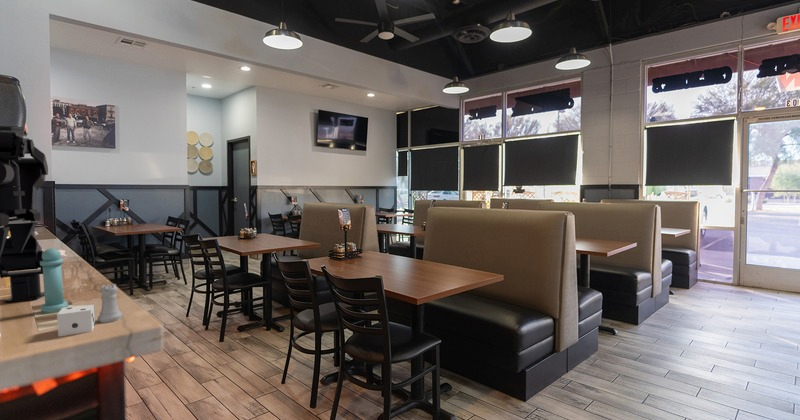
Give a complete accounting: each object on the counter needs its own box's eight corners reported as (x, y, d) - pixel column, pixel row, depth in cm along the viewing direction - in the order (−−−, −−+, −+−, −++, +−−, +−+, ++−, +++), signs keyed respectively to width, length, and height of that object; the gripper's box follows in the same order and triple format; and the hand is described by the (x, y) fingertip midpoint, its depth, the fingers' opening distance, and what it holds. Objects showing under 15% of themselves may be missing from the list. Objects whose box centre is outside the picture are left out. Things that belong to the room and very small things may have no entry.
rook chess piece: (110, 327, 83) (107, 288, 83) (91, 326, 84) (89, 287, 84) (128, 320, 87) (126, 283, 87) (111, 319, 88) (108, 282, 88)
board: (32, 309, 97) (32, 305, 97) (70, 303, 102) (70, 299, 102) (38, 334, 80) (38, 330, 79) (84, 325, 84) (84, 322, 84)
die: (63, 333, 81) (62, 307, 80) (95, 328, 83) (94, 303, 83) (58, 341, 76) (56, 314, 76) (92, 336, 79) (91, 309, 78)
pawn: (47, 308, 94) (43, 247, 93) (71, 306, 96) (67, 246, 95) (37, 314, 90) (32, 250, 89) (63, 312, 91) (59, 249, 91)
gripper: (-18, 187, 99) (-14, 252, 100) (-76, 187, 81) (-70, 266, 82) (39, 186, 103) (43, 249, 104) (-4, 186, 85) (1, 261, 86)
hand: (7, 256), depth 94 cm, fingers open, 9 cm apart
